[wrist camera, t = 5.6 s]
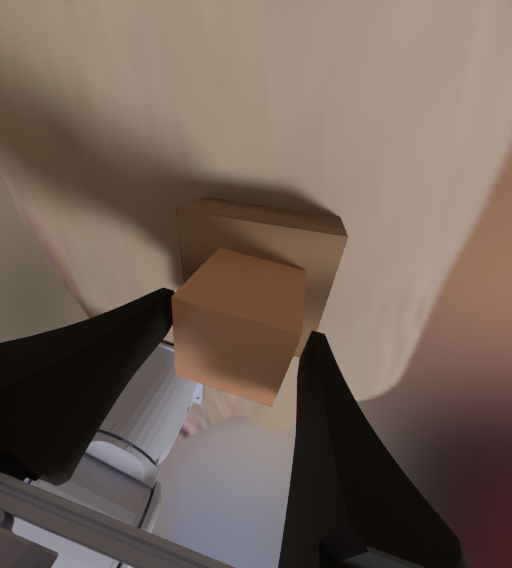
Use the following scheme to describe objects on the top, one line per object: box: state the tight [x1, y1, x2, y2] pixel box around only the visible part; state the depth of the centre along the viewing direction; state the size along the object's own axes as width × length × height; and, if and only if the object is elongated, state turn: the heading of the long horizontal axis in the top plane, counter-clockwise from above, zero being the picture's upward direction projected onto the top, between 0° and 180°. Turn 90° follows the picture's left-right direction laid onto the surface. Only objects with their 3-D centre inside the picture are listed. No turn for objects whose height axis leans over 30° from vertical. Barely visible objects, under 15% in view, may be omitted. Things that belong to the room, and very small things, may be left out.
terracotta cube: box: [172, 248, 306, 407], centre depth 11 cm, size 5×5×5 cm
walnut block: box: [176, 198, 348, 357], centre depth 15 cm, size 9×9×4 cm
